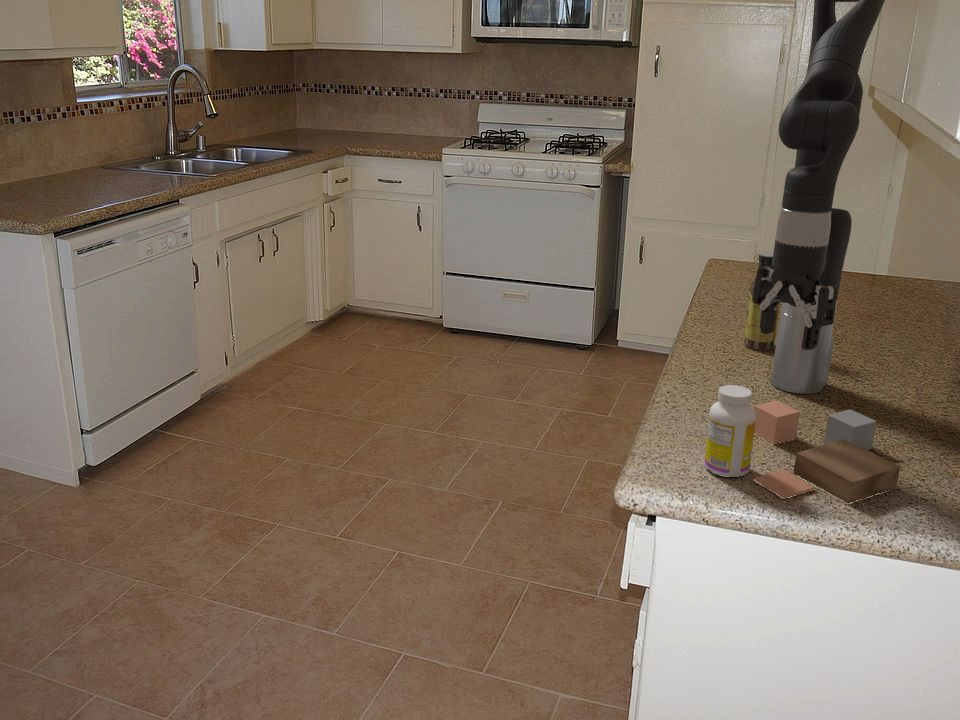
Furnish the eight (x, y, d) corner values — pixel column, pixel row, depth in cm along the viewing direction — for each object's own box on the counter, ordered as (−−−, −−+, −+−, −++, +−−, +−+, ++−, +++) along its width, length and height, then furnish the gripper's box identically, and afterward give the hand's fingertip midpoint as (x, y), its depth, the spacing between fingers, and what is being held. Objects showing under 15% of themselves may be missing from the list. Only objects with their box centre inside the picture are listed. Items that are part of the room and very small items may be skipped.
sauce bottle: (754, 339, 186) (766, 248, 179) (780, 347, 182) (793, 254, 175) (736, 345, 183) (748, 252, 175) (762, 353, 178) (775, 258, 171)
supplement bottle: (741, 458, 135) (751, 382, 130) (755, 479, 129) (766, 399, 124) (698, 459, 135) (706, 382, 130) (710, 480, 128) (719, 400, 124)
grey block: (845, 437, 142) (850, 409, 141) (870, 449, 138) (876, 421, 137) (823, 443, 140) (828, 415, 138) (848, 456, 136) (854, 427, 134)
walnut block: (839, 462, 135) (843, 439, 133) (895, 491, 127) (900, 466, 125) (792, 476, 130) (796, 452, 129) (847, 507, 122) (852, 482, 121)
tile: (783, 472, 131) (783, 469, 130) (814, 490, 126) (815, 486, 125) (753, 481, 128) (753, 477, 128) (784, 500, 123) (784, 496, 123)
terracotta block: (772, 427, 146) (776, 400, 144) (795, 439, 141) (800, 411, 140) (750, 433, 143) (754, 405, 142) (773, 445, 139) (777, 417, 137)
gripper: (858, 246, 126) (840, 351, 132) (784, 227, 138) (770, 324, 144) (821, 251, 123) (804, 358, 129) (748, 231, 135) (736, 330, 141)
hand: (786, 340), depth 136 cm, fingers open, 8 cm apart
